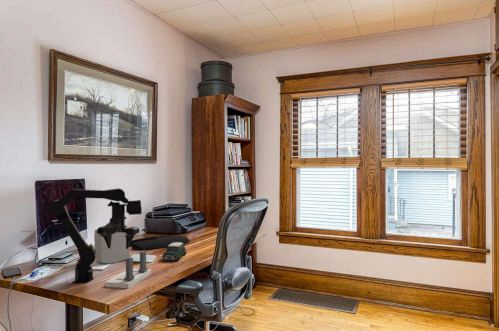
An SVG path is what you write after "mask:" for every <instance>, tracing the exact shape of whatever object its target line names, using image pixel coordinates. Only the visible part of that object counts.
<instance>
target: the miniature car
mask: <svg viewBox="0 0 499 331" xmlns="http://www.w3.org/2000/svg"><path fill="white" fill-rule="evenodd" d="M183 256H184V257H185V256H187V250H186V247H185V244H183V243H179V242H175V243H171V244H170V245H168V247H167V248H166V249H165V251H164V252H163V254H162V258H161V259H162V261H163V262H165V261H166V260H172V261H174V260H175V262H179V261H180V258H182V257H183Z"/></svg>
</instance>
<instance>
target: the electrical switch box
mask: <svg viewBox="0 0 499 331" xmlns="http://www.w3.org/2000/svg"><path fill="white" fill-rule="evenodd" d="M126 228H128V226H127V225H126ZM126 228H125V229H126ZM120 231H122V230H120ZM125 235H127V234H126V233H123V232H115V233H114V234H112V238H111V247H110V248H109V249H108V247H107V244H106V241H105V239H104V238H103V237H102V236H100V235H99V234H97V229H95V230H94V236H93V237H94V238H93V240H94V249H95V250H96V257H95V261H97V263H100V264H101V263H102V264H115V263H119V262H121V261H124V260H125V261H126V259H127V258H130V247H129V248H128V249H126V237H125Z"/></svg>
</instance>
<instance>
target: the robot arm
mask: <svg viewBox="0 0 499 331" xmlns="http://www.w3.org/2000/svg"><path fill="white" fill-rule="evenodd" d="M77 198H78V199H104V200H109V201H110V202H108V204H107V207H111V218H109V222H107V223H106V224H105V225H103V226H100V227H98V228H97V229H96V230H97V234H99V235H100V236H102V237H103V238H104V239H105V241H106V244H107V247H108V249H109V248H110V247H111V238H112V234H114V233H115V232H123V233H126V234H127V235H125V237H126V249H128V248H129V249H130V247H129V246H130V244H131V241H132V240H134V237H135V236H136V235H138V234H140V228H139V226H130V227H127V228H126V226H127V225H126V224H125V223H126V221H125V220H127V216H126V213H127V214H128V216H130V215H131V216H132V215H142V212H143V211H142V210H143V209H142V200H140V199H138V200H137V199H136V200H129V199H128V198H127V197H126V192H125V191H124V190H123V189H122V188H119V187H118V188H111V189H104V190H102V189H80V188H79V189H78V188H72V189H70V190H69V192H68V193H65V195H64V196H62V197H61V198H59V199H56V200H54V201H52V202H51V203H50V204H48V205H49V206H48V210H49V212H50V213H51V214H52V215H53V216H54V217H55V218H56V219H57V220H58V221H59V222H60V223H61V225H62V226H63V228H64V230H65V231H66V233H67V234H68V236H69V238H70V239H71V241H72V243H73V244H74V245H75V247H76V249H77V253H78V256H79V259H78V260H77V261H76V264H75V267H74V270H75V271H74V279H73V280H72V283H73V284H75V283H77V284H86V283H89V282H91V281H92V280H94V279H95V277H94V275H93V274H94V272H93V266H91V265H92V264H94V262H95V261H96V258H95V257H96V250H95V247H94V246H93V244H92V243H90V244H88V243H87V242H86V240H85V239H84V237H83V235H81V233H80V232H79V231H80V230H78V228H77V226H76V224H75V223H74V221H73V220H72V218H71V217H70V214H69V210H68V207H67V205H68V204H69V203H71V202H72V201H73V200H74V199H77ZM125 228H126V229H125ZM120 230H122V231H120Z"/></svg>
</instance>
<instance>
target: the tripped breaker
mask: <svg viewBox="0 0 499 331" xmlns="http://www.w3.org/2000/svg"><path fill="white" fill-rule="evenodd" d="M133 268H134V257H130V256H129V258H127V259H125V271H126V277H125V278H124V280H126V281H131V280H132V279H134V278H135V276H133Z"/></svg>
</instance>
